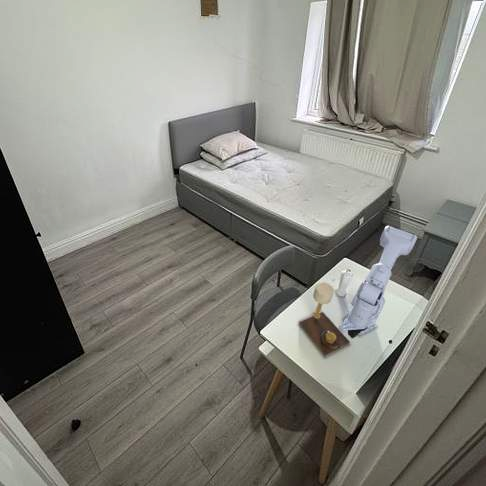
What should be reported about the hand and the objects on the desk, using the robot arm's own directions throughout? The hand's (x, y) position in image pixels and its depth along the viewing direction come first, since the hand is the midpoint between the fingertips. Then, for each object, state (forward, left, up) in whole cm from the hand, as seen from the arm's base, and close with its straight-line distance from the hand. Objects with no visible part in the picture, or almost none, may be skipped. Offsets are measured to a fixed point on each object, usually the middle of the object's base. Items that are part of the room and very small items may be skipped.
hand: (351, 335), depth 102 cm
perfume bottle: (-19, -21, -11) cm, 30 cm away
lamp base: (+2, -9, -10) cm, 14 cm away
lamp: (+1, -15, -7) cm, 16 cm away
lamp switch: (+3, -5, -7) cm, 9 cm away
